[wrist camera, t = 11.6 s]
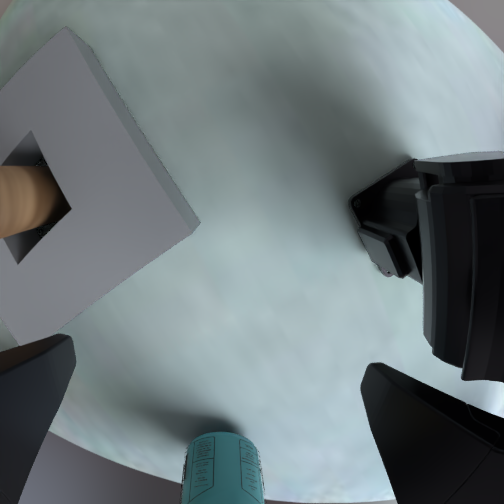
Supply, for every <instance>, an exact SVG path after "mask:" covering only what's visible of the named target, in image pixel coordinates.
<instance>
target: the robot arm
mask: <svg viewBox="0 0 504 504" xmlns="http://www.w3.org/2000/svg"><path fill="white" fill-rule="evenodd" d="M413 163H414V164H415V168H413ZM355 200H358V202H359V204H358V206H355V205H354V201H355ZM349 207H350V209H351V211H352V213H353V215H354V216H355V218H356V220H357V222H358V224H359V226H360V227H359V228H358V233H359V235H360V237H361V239H362V241H363V243H364V245H365V248H366V250H367V252H368V254H369V256H370V258H371V260H372V261H373V262H374V263H376V264H378V266H379V268H380V270H381V272H382V274H383V275H385V276H386V277H391V276H392V275H395V276H397V277H398V278H405V277H406V276H409V277H411V278H412V279H414V280H416V281H417V282H419V283H421V284H422V285H423V334H424V336H425V338H426V339H427V341H428V343H429V344H430V346H431V347H432V353H433V355H435V356H436V357H438V358H439V359H440V360H442V361H444V362H445V363H448V364H450V365H453V366H455V367H458V368H463V369H462V374H461V379H462V380H464V381H472V380H490V381H499V382H503V383H504V152H502V151H490V152H471V153H463V154H455V155H448V156H441V157H434V158H427V159H421V160H417V159H409V160H408V161H406V162H405V163H403V164H402V165H400V166H399V167H397V168H395V169H394V170H392V171H391V172H389V173H388V174H386V175H384V176H383V177H381V178H380V179H378V180H377V181H375V182H374V183H372V184H370V185H369V186H367V187H366V188H364V189H363V190H361V191H359V192H358V193H356V194H355V195H353V196H352V197H351V198H350V199H349ZM387 271H388V272H387ZM75 366H76V356H75V350H74V345H73V340H72V338H71V337H70V336H69V335H64V334H56V335H53V336H50V337H47V338H43V339H40V340H37V341H34V342H31V343H28V344H25V345H22V346H18V347H15V348H12V349H9V350H6V351H2V352H0V504H18V502H19V499H20V496H21V494H22V491H23V488H24V486H25V483H26V481H27V478H28V475H29V473H30V470H31V468H32V466H33V463H34V461H35V458H36V456H37V454H38V452H39V449H40V447H41V445H42V442H43V440H44V438H45V436H46V434H47V432H48V429H49V427H50V425H51V423H52V421H53V419H54V417H55V415H56V413H57V411H58V409H59V407H60V404H61V402H62V400H63V397H64V395H65V392H66V389H67V386H68V384H69V381H70V379H71V376H72V373H73V371H74V368H75ZM360 389H361V394H362V398H363V402H364V406H365V410H366V413H367V417H368V421H369V425H370V428H371V431H372V434H373V437H374V439H375V442H376V445H377V447H378V450H379V453H380V456H381V458H382V461H383V464H384V466H385V469H386V472H387V475H388V477H389V480H390V483H391V486H392V489H393V492H394V495H395V497H396V500H397V503H398V504H504V418H502V417H499V416H496V415H493V414H491V413H488V412H486V411H483V410H481V409H479V408H476V407H474V406H472V405H470V404H466V403H465V402H463V401H461V400H459V399H456V398H454V397H452V396H450V395H448V394H446V393H444V392H441V391H439V390H437V389H435V388H433V387H431V386H429V385H427V384H425V383H422V382H420V381H418V380H416V379H414V378H412V377H410V376H408V375H406V374H404V373H402V372H400V371H398V370H396V369H394V368H392V367H390V366H388V365H386V364H384V363H381V362H377V363H370V364H369V365H368V366H367V368H366V371H365V374H364V377H363V380H362V382H361V387H360Z"/></svg>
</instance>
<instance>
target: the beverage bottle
mask: <svg viewBox="0 0 504 504" xmlns="http://www.w3.org/2000/svg"><path fill="white" fill-rule="evenodd" d="M187 448H188V450H187V455H186V457H184V458H186V462H185V465H184V466H185V468H184V467H183V473H184V480H183V476H182V483H183V481H184V484H183V489H182V490H183V494H182V498H181V499H182V502H181V503H182V504H264V498H263V490H262V483H261V475H260V473H261V471H262V468H261V470H260V468H259V465H260V464H259V460H260V459H259V460H258V453H257V448H256V447H255V446H254V444H253V443H252V442H251V441H250V440H248V439H247V438H245V437H243V436H241V435H238V434H235V433H229V432H211V433H206V434H203V435H200V436H198V437H197V438H195V439H194V440H193V441H192V442H191V443H190V445H189V447H187ZM258 452H259V451H258ZM185 454H186V453H185ZM184 460H185V459H184ZM260 462H261V461H260ZM184 469H185V471H184ZM262 478H263V475H262ZM262 481H263V480H262ZM263 486H264V482H263ZM181 487H182V485H181ZM265 499H266V498H265Z"/></svg>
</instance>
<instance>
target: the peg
mask: <svg viewBox="0 0 504 504" xmlns="http://www.w3.org/2000/svg"><path fill="white" fill-rule="evenodd" d="M71 209H72V208H71V206H70V204H69V203H68V201H67V199H66V197H65V196H64V194H63V192H62V190H61V188H60V187H59V185H58V183H57V181H56V179H55V177H54V175H53V173H52V172H51V170H50V168H49V166H0V239H2V238H5V237H8V236H11V235H14V234H17V233H20V232H23V231H26V230H30V229H33V228H36V227H39V226H43V225H46V224H50V223H53V222H57V221H60V220H61V219H62V218H63V217H64V216H65V215H66V214H67V213H69V212H70V211H71Z"/></svg>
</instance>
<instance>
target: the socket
mask: <svg viewBox="0 0 504 504" xmlns="http://www.w3.org/2000/svg"><path fill="white" fill-rule="evenodd" d="M42 156H44V158H45V160H46V162H47V164H48V166H49V168H50V170H51V172H52V173H53V175H54V177H55V179H56V181H57V183H58V185H59V187H60V188H61V190H62V192H63V194H64V196H65V197H66V199H67V201H68V203H69V204H70V206H71V208H72V210H71V211H70V212H69V213H67V214H66V215H65V216H64V217H63V218H62V219H61V220H60V221H59V222H58V223H57V224H56V225H55V226H54V227H53V228H52V229H51V230H50V231H49V232H48V233H47V234H46V235H45V236H44V237H43V238H42V239H41V237H40V236H39V234H38V232H37V230H36V229H35V228H33V229H30V230H26V231H23V232H20V233H17V234H14V235H11V236H8V237H5V238H2V239H0V318H1V320H2V321H3V323H4V324H5V326H6V327H7V329H8V330H9V332H10V333H11V334H12V336H13V337H14V339H15V340H16V341H17V343H18V344H19V346H22V345H25V344H28V343H31V342H34V341H37V340H40V339H43V338H47V337H50V336H51V335H53V334H54V333H55V332H56V331H58V330H59V329H60V328H62V327H63V326H64V325H65V324H67V323H68V322H69V321H71V320H72V319H73V318H75V317H76V316H77V315H78V314H80V313H81V312H82V311H84V310H85V309H86V308H88V307H89V306H90V305H92V304H93V303H94V302H96V301H97V300H98V299H100V298H101V297H102V296H104V295H105V294H107V293H108V292H109V291H111V290H112V289H113V288H115V287H116V286H118V285H119V284H120V283H122V282H123V281H124V280H126V279H127V278H129V277H130V276H131V275H133V274H134V273H136V272H137V271H138V270H140V269H141V268H143V267H144V266H146V265H147V264H148V263H150V262H151V261H153V260H154V259H156V258H157V257H158V256H160V255H161V254H163V253H164V252H166V251H167V250H169V249H170V248H171V247H173V246H174V245H176V244H177V243H179V242H180V241H182V240H183V239H185V238H186V237H188V236H189V235H191V234H192V233H193V232H194V231H195V229H196V228H197V227H198V226H199V224H200V223H201V222H200V221H199V219H198V218H197V216H196V215H195V213H194V212H193V210H192V209H191V207H190V206H189V204H188V203H187V201H186V200H185V198H184V197H183V195H182V194H181V192H180V190H179V189H178V187H177V186H176V184H175V183H174V181H173V180H172V178H171V177H170V175H169V174H168V172H167V170H166V169H165V167H164V166H163V164H162V163H161V161H160V160H159V158H158V156H157V155H156V153H155V152H154V150H153V149H152V147H151V145H150V144H149V142H148V141H147V139H146V138H145V136H144V134H143V133H142V131H141V130H140V128H139V126H138V125H137V123H136V122H135V120H134V118H133V117H132V115H131V114H130V112H129V110H128V109H127V107H126V106H125V104H124V102H123V101H122V99H121V97H120V96H119V94H118V93H117V91H116V89H115V88H114V86H113V84H112V83H111V81H110V79H109V78H108V76H107V74H106V73H105V71H104V70H103V68H102V66H101V65H100V63H99V61H98V59H97V58H96V56H95V54H94V53H93V51H92V49H91V48H90V46H89V45H87V44H86V43H85V42H84V41H83V40H82V39H80V38H79V37H78V36H77V35H76V34H75V33H73V32H72V31H71V30H70V29H69V28H68V27H66V26H65V27H64V28H63V29H62V30H60V31H59V32H58V33H57V34H56V35H55V36H53V37H52V38H51V39H50V40H49V41H48V42H47V43H46V44H44V45H43V46H42V47H41V48H40V49H39V50H38V51H37V52H36V53H35V54H34V55H33V56H32V57H31V58H30V59H29V60H28V61H27V62H26V63H25V64H24V65H23V66H22V67H21V68H20V69H19V70H18V71H17V72H16V73H15V74H14V76H13V77H12V78H11V79H10V80H9V81H8V82H7V83H6V84H5V86H4V87H3V88H2V89H1V90H0V166H34V165H35V164H36V163H37V162H38V161H39V160H40V159H41V157H42Z"/></svg>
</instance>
